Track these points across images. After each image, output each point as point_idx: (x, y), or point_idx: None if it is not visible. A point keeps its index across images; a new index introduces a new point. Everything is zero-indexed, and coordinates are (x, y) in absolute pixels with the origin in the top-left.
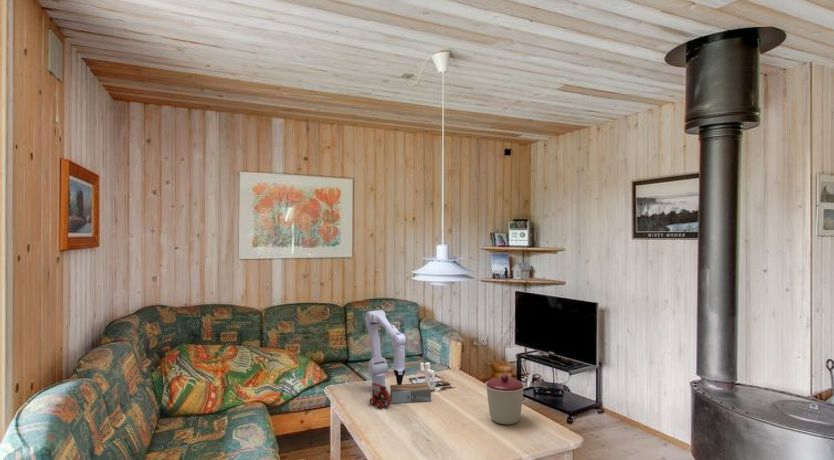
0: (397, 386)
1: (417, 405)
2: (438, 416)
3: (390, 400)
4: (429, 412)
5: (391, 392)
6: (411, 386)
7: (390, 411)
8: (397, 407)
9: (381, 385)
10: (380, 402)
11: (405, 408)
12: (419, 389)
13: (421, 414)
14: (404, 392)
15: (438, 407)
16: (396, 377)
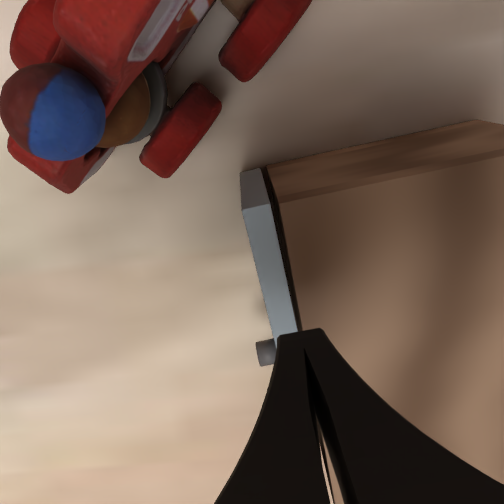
0: (473, 255)
1: (218, 379)
2: (40, 499)
3: (166, 177)
4: (94, 455)
5: (340, 177)
6: (441, 403)
7: (32, 182)
8: (150, 235)
9: (121, 29)
10: (14, 57)
11: (138, 304)
12: (333, 474)
13: (43, 417)
14: (276, 346)
15: (194, 490)
16: (243, 458)
